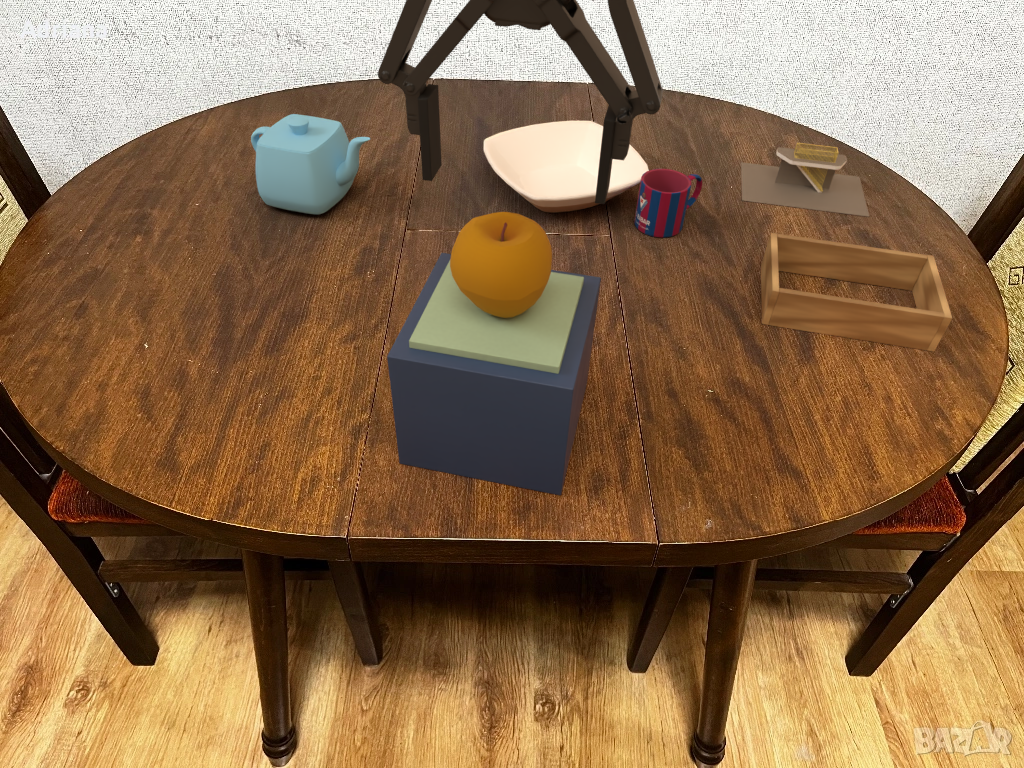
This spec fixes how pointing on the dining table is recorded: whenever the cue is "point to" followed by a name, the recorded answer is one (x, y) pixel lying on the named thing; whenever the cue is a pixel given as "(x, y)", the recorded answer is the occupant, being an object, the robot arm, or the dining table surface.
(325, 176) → the teapot
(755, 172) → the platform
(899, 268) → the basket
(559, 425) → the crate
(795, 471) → the dining table surface
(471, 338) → the mat
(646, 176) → the mug
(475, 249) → the apple
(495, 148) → the bowl
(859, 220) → the dining table surface
